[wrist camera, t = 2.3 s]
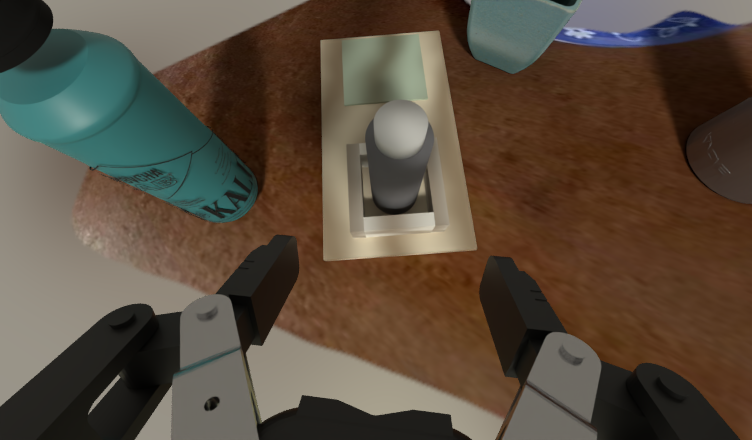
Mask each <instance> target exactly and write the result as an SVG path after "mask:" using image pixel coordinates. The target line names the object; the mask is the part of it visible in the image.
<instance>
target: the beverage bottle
mask: <svg viewBox="0 0 752 440" xmlns="http://www.w3.org/2000/svg"><path fill="white" fill-rule="evenodd" d="M52 26H53V14H52V11H51V9H50V8H49V6H48V5H47V4H46V3H45V2H44V1H42V0H0V114H1V116H2V118H3V119H4V121H5V122H6V123H7V125H8V126H9V127H10V128H12V129H13V130H14V131H15V132H17V133H18V134H20V135H22V136H24V137H26V138H28V139H31V140H33V141H37V142H41V143H43V144H45V145H47V146H49V147H51V148H53V149H56V150H58V151H60V152H62V153H64V154H66V155H68V156H71V157H72V158H75V159H77V160H79V161H81V162H83V163H85V164H87V165H89V166H90V170H91V167H93V168H94V169H92V170H95V169H97V170H99V171H101V172H104V173H106V174H108V175H110V176H112V177H114V178H115V180H117V181H118V180H119V183H120V182H121V181H123V182H125V183H127V184H130V185H132V186H134V187H136V188H138V189H140V190H141V191H145V192H147V193H149V194H151V195H154V196H155V197H158V198H160V199H162V200H164V201H167V203H168V202H169V205H170V203H171V204H173V206H177V207H178V208H181V211H182V209H183V211H184V210H185V212H186V213H187V212H188V214H189V212H191V213H193V214H195V215H197V216H199V217H198V218H200V217H201V219H202V218H204V219H203V220H209V222H210V223H211V221H212V222H223V223H224V222H230V221H234V220H236V219H238V218H240V217H242V216H243V215H244V214H246V213H247V212H248V211H249V210H250V208H251V207H252V206H253V204H254V202H255V200H256V197H257V192H258V186H257V181H256V180H257V179H256V178H255V176H254V174H253V173H252V172H253V171H252V172H251V170H250V168H249V167H248V166H247V164H246V165H245V164H244V163H245V162H244V161H243V162H242V159H241V160H240V159H239V158H240V157H239V156H237V155H236V153H233V152H232V151H231V149H229V148H228V147H229V146H228V147H227V145H225V144H224V142H222V140H223V139H222V138H220V139H222V140H220V139H219V138H218V137H217V136H218V135H217V136H216V135H215V134H216V133H215V134H214V133H213V130H212V131H211V130H210V129H209V128H208V126H205V125H204V124H203V123H202V122H201V121H200V120H199V119H198V118H196V117H195V116H194V115H193V114H192V113H191V112H190V111H189V110H188V109H187V108H186V107H185V106H184V105H183V104H182V103H181V102H180V101H179V100H178V99H177V98H176V97H175V96H174V95H173V94H172V93H171V92H170V91H169V90H168V89H167V88H166V87H165V86H164V85H163V84H162V83H161V82H160V81H159V80H158V79H157V78H156V77H155V76H154V75H153V74H152V73H151V72H149V70H148V69H147V68H146V67H144V65H142V64H141V63H140V62H139V61H138V60H137V59H136V57H135V56H134V55H133V53H132V52H131V51H130V50H129V49H128V48H127V47H126V46H125V45H124V44H122V43H121V42H119V41H117V40H116V39H114V38H112V37H109V36H107V35H103V34H99V33H94V32H88V31H80V30H72V29H52ZM210 128H211V127H210ZM223 141H224V140H223ZM238 157H239V158H238ZM101 175H102V174H101ZM103 176H104V175H103ZM105 177H106V176H105ZM112 177H109V178H110V179H112ZM114 178H113V180H114ZM115 180H114V181H115ZM120 180H121V181H120ZM123 185H124V183H123ZM134 190H135V188H134ZM144 194H145V193H144ZM161 202H162V201H161ZM163 203H165V202H163ZM191 213H190V215H192V214H191ZM195 215H193V216H195ZM197 216H195V217H197ZM206 222H207V221H206Z"/></svg>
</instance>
